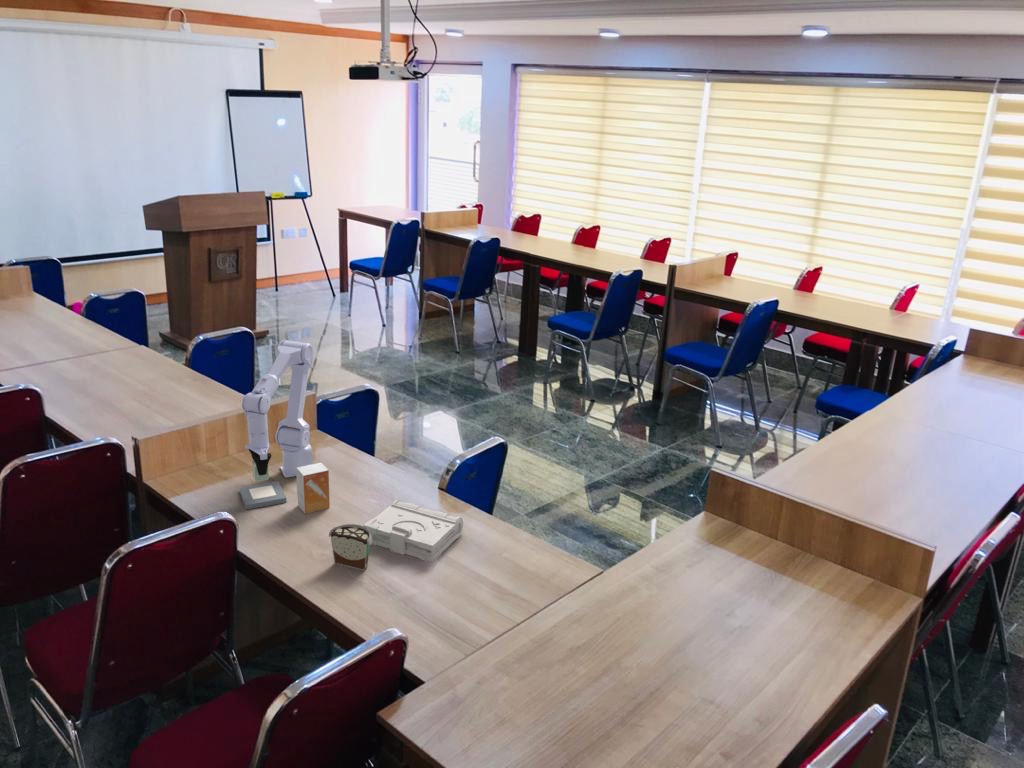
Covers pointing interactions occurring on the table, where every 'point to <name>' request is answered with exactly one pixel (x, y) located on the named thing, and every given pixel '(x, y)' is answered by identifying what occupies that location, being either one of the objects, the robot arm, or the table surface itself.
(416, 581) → the table surface
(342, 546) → the food container
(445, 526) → the book
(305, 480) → the small box
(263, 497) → the slate base
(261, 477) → the sage block
